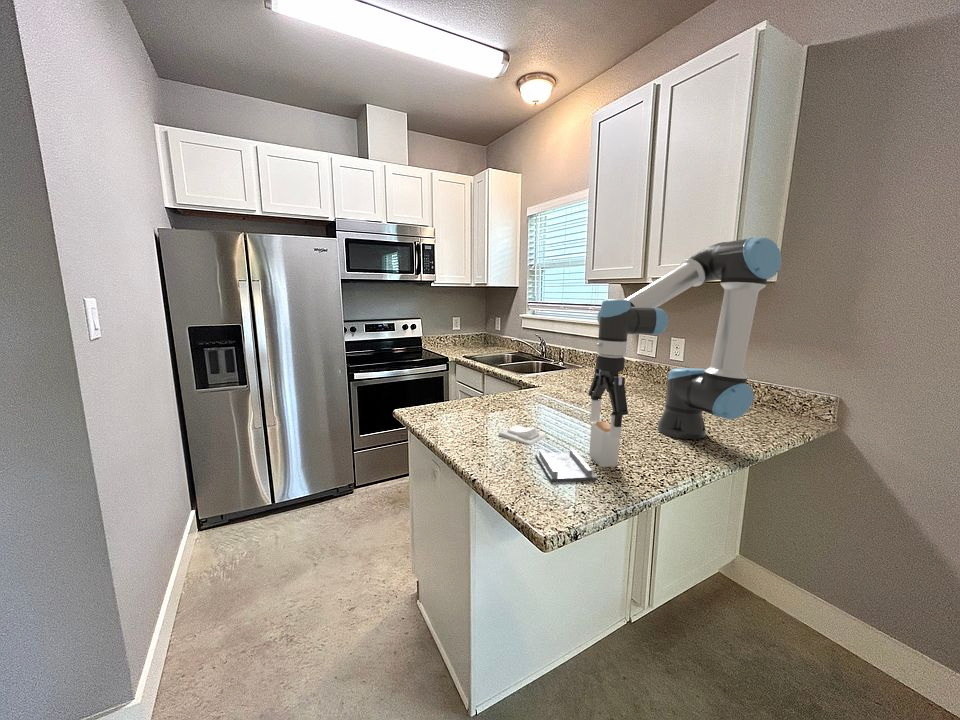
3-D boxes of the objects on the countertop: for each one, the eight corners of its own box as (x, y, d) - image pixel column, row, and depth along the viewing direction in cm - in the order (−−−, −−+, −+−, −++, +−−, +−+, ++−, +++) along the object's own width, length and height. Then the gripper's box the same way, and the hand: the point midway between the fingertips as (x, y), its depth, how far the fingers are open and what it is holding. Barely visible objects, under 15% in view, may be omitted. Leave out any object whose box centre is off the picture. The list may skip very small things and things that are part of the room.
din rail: (574, 455, 115) (575, 447, 115) (596, 480, 100) (596, 471, 99) (535, 456, 114) (535, 448, 114) (551, 482, 98) (551, 473, 98)
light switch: (531, 437, 122) (498, 425, 130) (530, 449, 123) (498, 437, 131) (548, 428, 130) (516, 417, 138) (547, 439, 131) (516, 428, 139)
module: (605, 454, 116) (607, 420, 115) (617, 466, 109) (620, 429, 107) (589, 455, 116) (591, 420, 114) (600, 466, 108) (602, 430, 106)
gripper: (581, 349, 119) (576, 415, 122) (618, 363, 94) (610, 445, 98) (604, 349, 120) (598, 415, 123) (647, 363, 95) (638, 445, 99)
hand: (604, 428), depth 110 cm, fingers open, 13 cm apart
